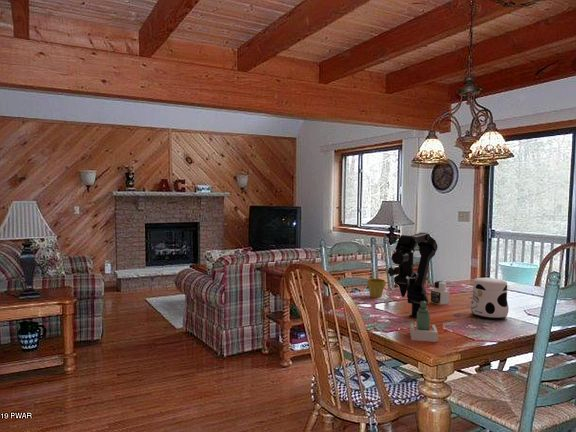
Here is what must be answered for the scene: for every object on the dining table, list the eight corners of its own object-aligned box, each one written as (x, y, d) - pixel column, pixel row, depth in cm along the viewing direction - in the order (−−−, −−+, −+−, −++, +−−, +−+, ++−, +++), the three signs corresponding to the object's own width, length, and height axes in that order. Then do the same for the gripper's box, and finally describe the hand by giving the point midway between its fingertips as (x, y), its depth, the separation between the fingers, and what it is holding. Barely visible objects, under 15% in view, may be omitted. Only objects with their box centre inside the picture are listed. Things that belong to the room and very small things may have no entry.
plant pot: (388, 297, 260) (389, 281, 260) (374, 299, 256) (374, 282, 255) (377, 293, 269) (378, 277, 269) (363, 295, 265) (363, 279, 264)
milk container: (462, 313, 228) (463, 278, 227) (487, 310, 235) (488, 276, 234) (490, 323, 212) (491, 285, 211) (516, 319, 219) (517, 283, 218)
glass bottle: (422, 332, 194) (422, 299, 193) (432, 335, 189) (432, 302, 188) (414, 334, 191) (414, 301, 190) (423, 338, 186) (424, 303, 186)
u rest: (409, 332, 196) (410, 323, 196) (434, 334, 194) (434, 325, 194) (411, 339, 186) (411, 330, 186) (437, 342, 184) (437, 332, 184)
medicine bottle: (430, 302, 251) (430, 281, 250) (439, 300, 254) (440, 280, 254) (439, 305, 245) (440, 283, 244) (449, 303, 248) (450, 282, 247)
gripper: (396, 258, 222) (395, 289, 223) (383, 262, 206) (382, 296, 207) (418, 260, 216) (417, 292, 217) (407, 265, 200) (406, 299, 201)
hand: (405, 295), depth 210 cm, fingers open, 9 cm apart
